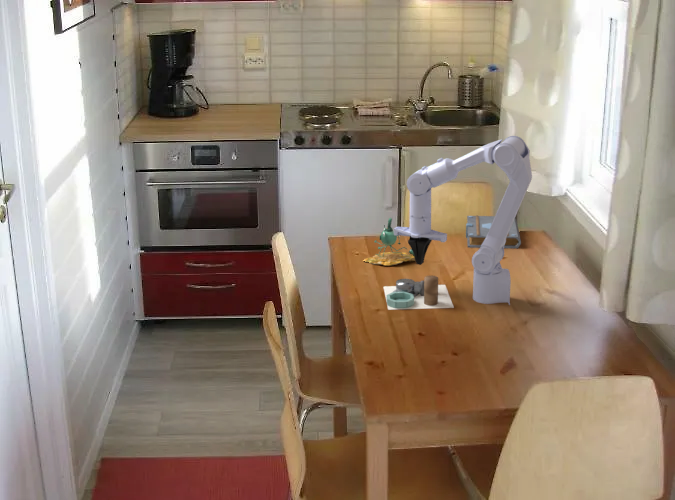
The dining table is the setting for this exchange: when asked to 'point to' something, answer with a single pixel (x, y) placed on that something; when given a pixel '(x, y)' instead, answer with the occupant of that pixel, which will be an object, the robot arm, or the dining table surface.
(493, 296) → the robot arm
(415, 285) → the grey ball-ended lever
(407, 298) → the socket
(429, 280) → the pin
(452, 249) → the dining table surface
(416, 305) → the board
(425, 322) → the dining table surface
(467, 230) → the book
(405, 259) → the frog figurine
